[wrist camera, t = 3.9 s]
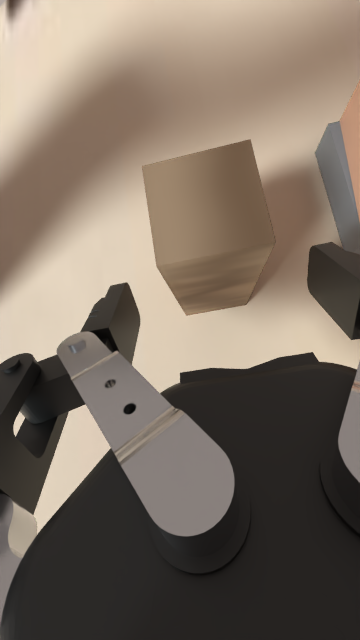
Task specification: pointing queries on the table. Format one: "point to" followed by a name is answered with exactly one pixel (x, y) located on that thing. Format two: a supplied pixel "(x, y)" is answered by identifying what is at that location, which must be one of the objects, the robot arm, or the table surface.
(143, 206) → the table surface
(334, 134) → the lower slab
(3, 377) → the robot arm
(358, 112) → the upper slab
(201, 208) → the brown block
